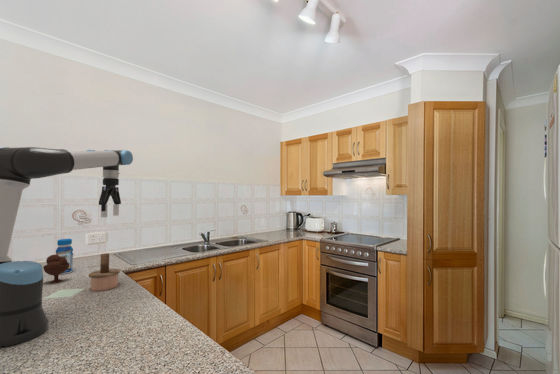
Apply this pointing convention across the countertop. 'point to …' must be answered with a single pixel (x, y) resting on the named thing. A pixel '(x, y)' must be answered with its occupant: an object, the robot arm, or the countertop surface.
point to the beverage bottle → (65, 252)
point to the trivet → (64, 293)
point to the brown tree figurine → (56, 266)
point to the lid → (104, 268)
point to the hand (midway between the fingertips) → (110, 216)
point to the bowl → (104, 283)
